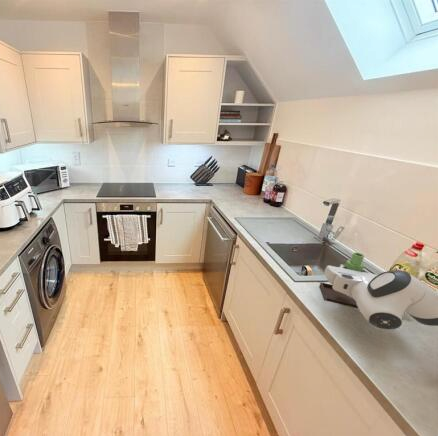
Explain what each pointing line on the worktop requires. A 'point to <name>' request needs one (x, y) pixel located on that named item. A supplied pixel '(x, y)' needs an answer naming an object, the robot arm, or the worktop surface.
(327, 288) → the tray
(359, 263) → the soap bottle
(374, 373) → the worktop surface
